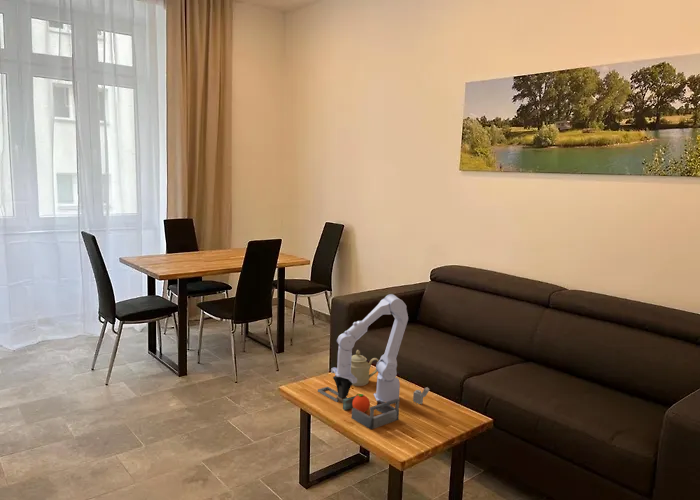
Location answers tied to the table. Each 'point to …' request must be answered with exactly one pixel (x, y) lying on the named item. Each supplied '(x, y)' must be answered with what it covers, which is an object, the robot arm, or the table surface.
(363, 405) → the tomato
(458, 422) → the table surface
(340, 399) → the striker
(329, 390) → the track
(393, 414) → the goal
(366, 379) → the beige teapot
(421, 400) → the lighter
